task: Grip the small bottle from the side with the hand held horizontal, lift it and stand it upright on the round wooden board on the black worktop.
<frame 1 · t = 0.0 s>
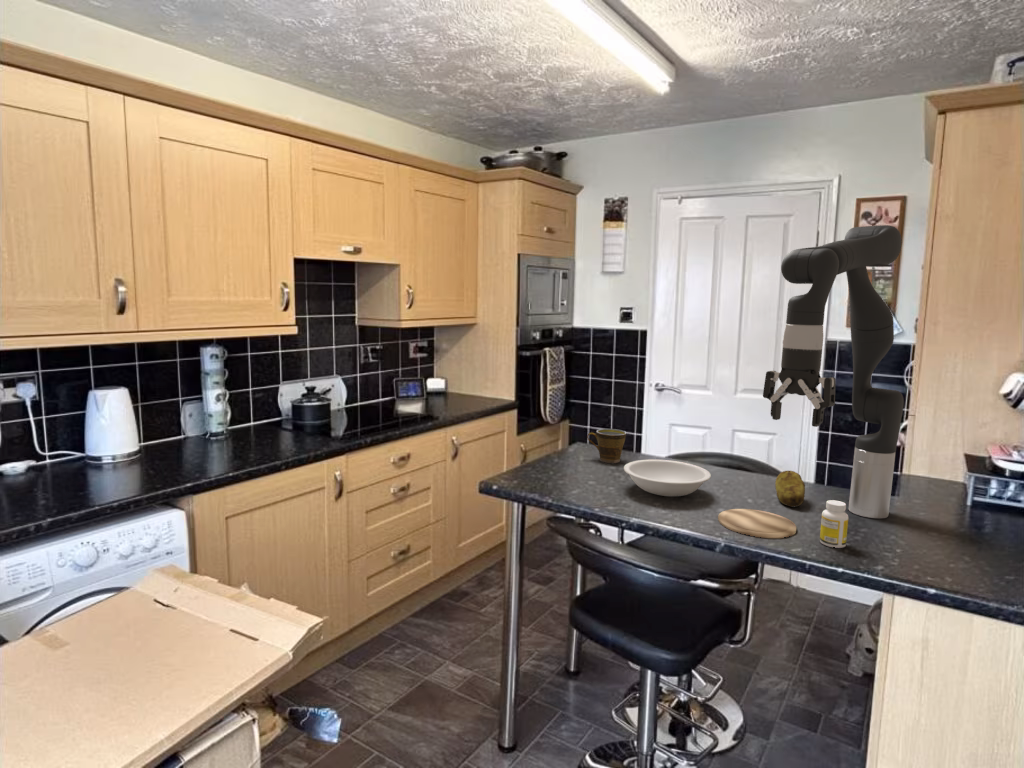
hand: (795, 422, 131), 29 cm above the breakfast bar, tool pointing down, fingers open, 8 cm apart
potato: (788, 502, 171), on the breakfast bar
ceramic cup: (605, 460, 210), on the breakfast bar
soup bowl: (665, 493, 176), on the breakfast bar
supplement bottle: (832, 544, 141), on the breakfast bar
round wooden board: (756, 524, 153), on the breakfast bar
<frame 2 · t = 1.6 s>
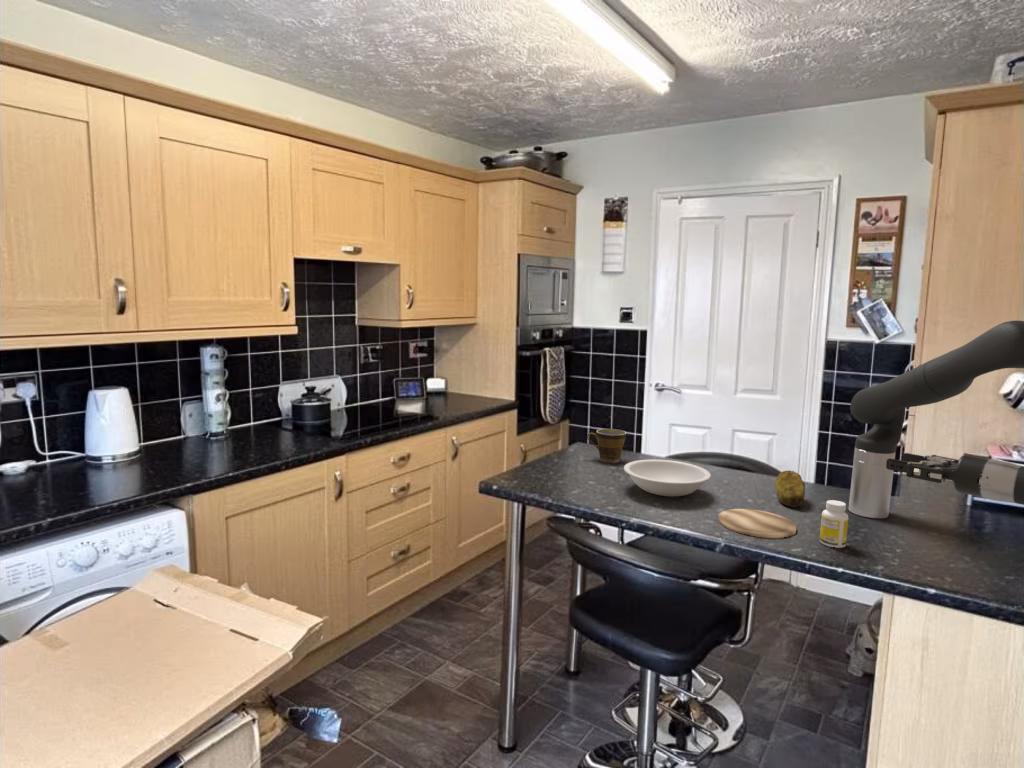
hand: (895, 460, 130), 22 cm above the breakfast bar, tool horizontal, fingers open, 8 cm apart
nothing on the breakfast bar moved.
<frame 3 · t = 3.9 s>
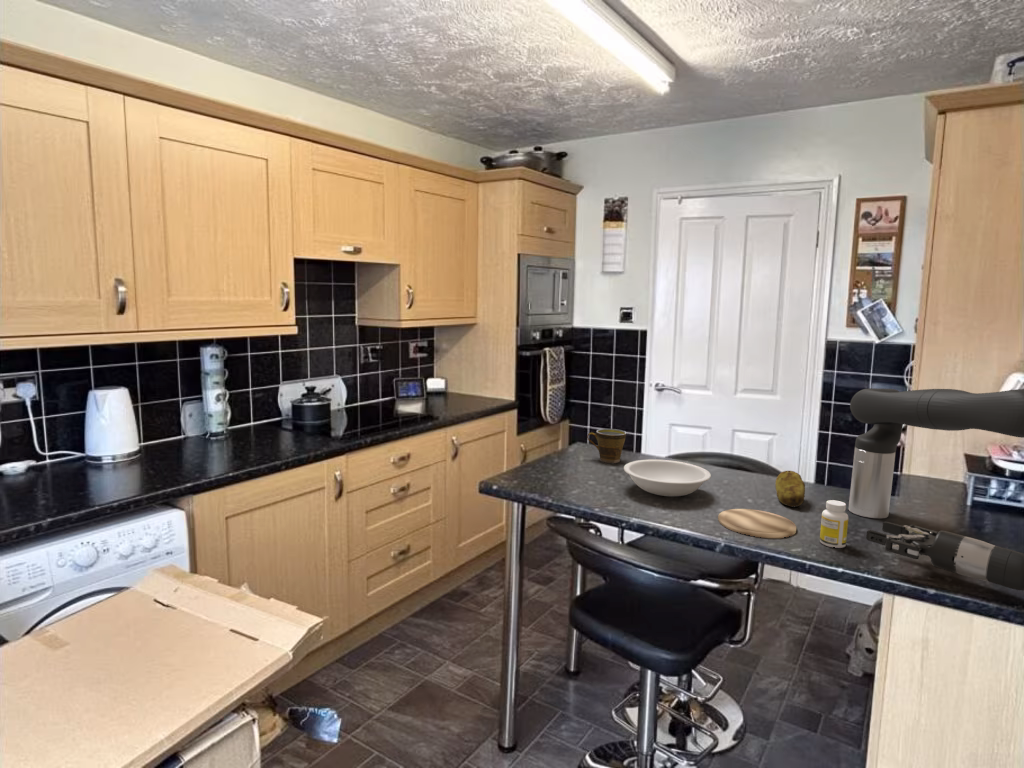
hand: (875, 530, 134), 6 cm above the breakfast bar, tool horizontal, fingers open, 8 cm apart
nothing on the breakfast bar moved.
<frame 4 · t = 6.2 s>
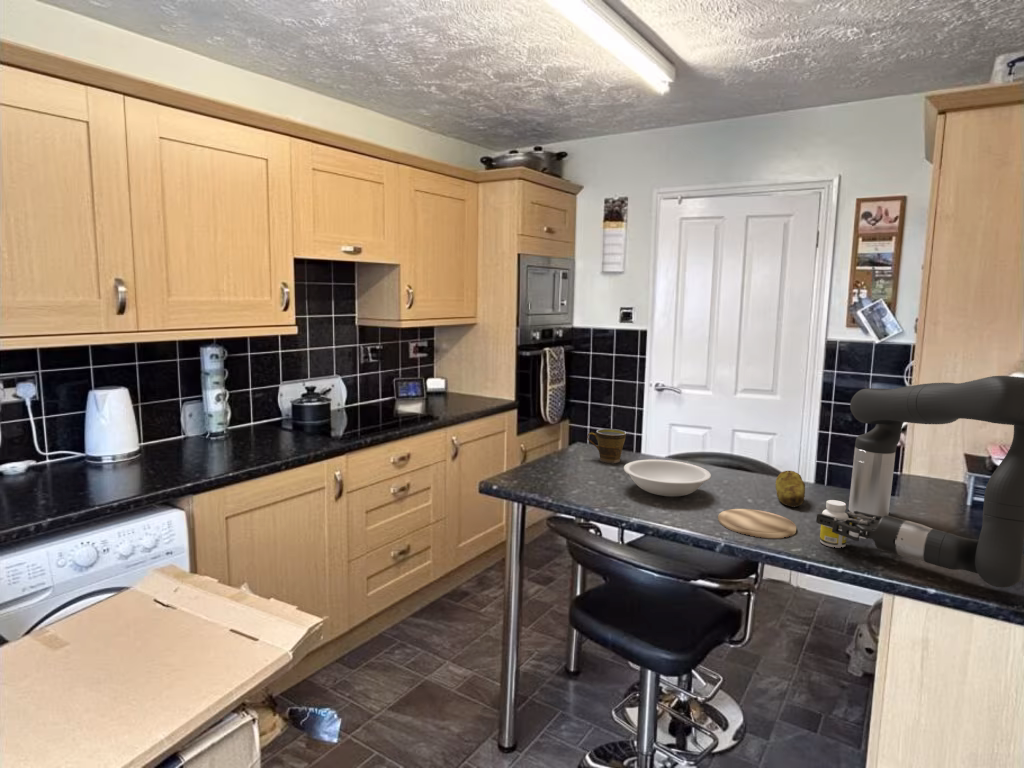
hand: (823, 515, 142), 6 cm above the breakfast bar, tool horizontal, fingers closed on supplement bottle, 5 cm apart
supplement bottle: (832, 544, 141), on the breakfast bar, touching gripper
everything else where it was.
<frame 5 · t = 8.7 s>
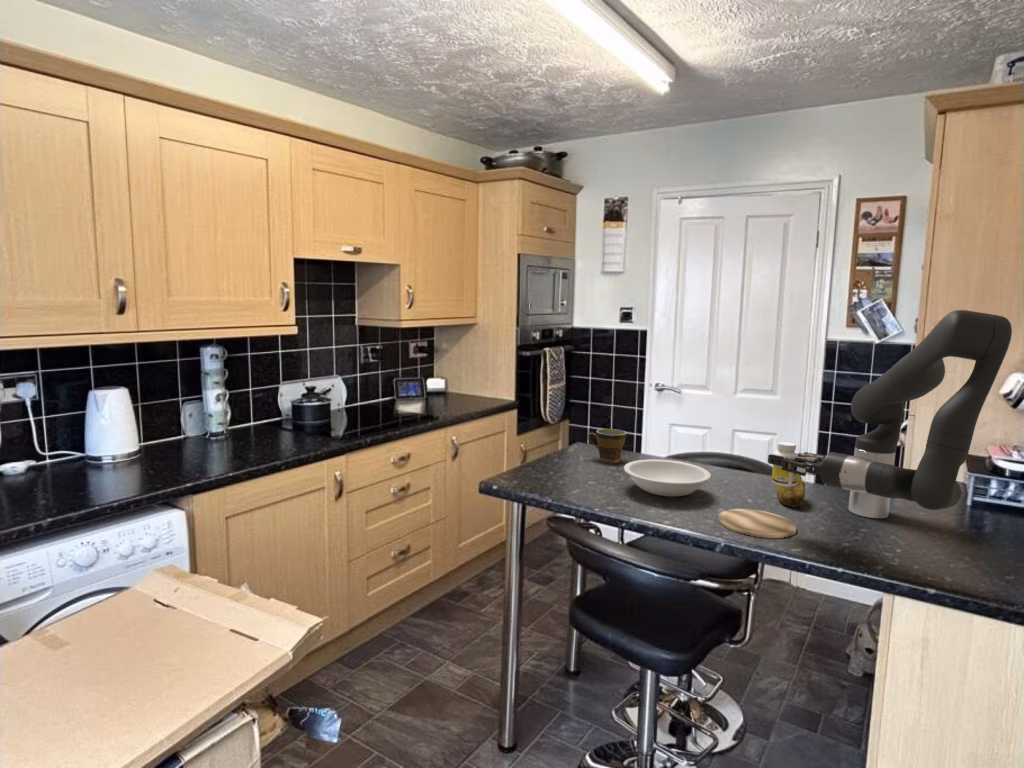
hand: (775, 456, 148), 18 cm above the breakfast bar, tool horizontal, fingers closed on supplement bottle, 5 cm apart
supplement bottle: (783, 484, 147), point 11 cm above the breakfast bar, touching gripper
everything else where it was.
when the fingers open (8 cm above the breakfast bar, at t = 11.5 s): supplement bottle stays where it is, resting on round wooden board.
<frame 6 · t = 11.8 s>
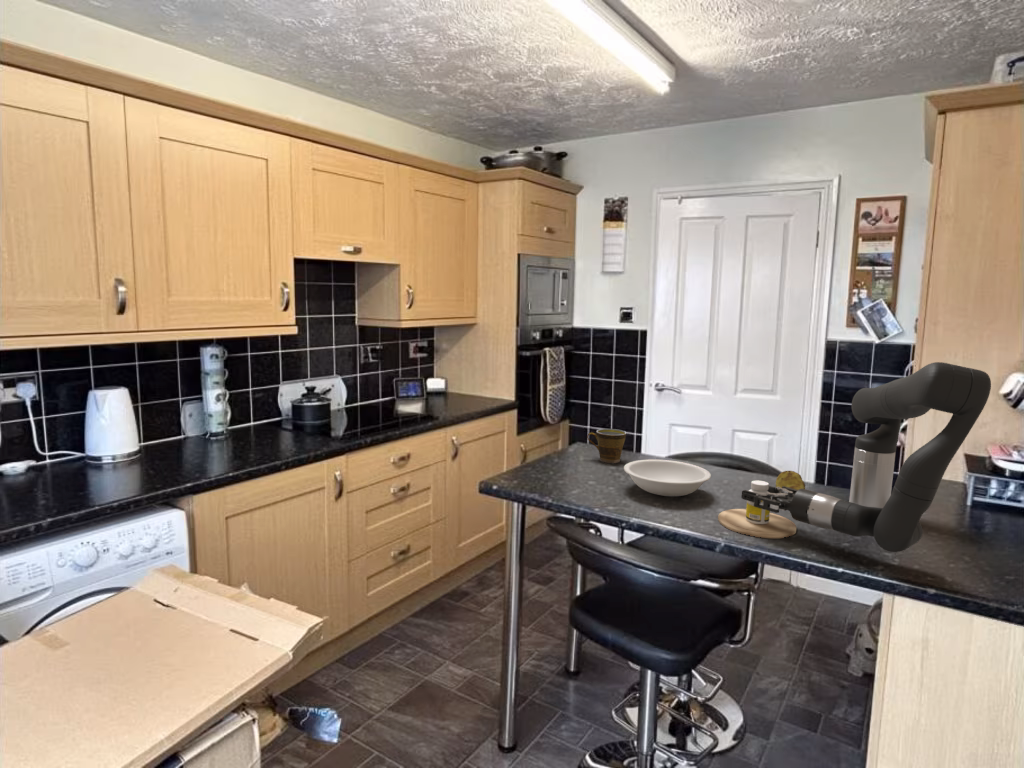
hand: (751, 491, 153), 8 cm above the breakfast bar, tool horizontal, fingers open, 8 cm apart
supplement bottle: (756, 521, 152), point 1 cm above the breakfast bar, touching round wooden board
everything else where it was.
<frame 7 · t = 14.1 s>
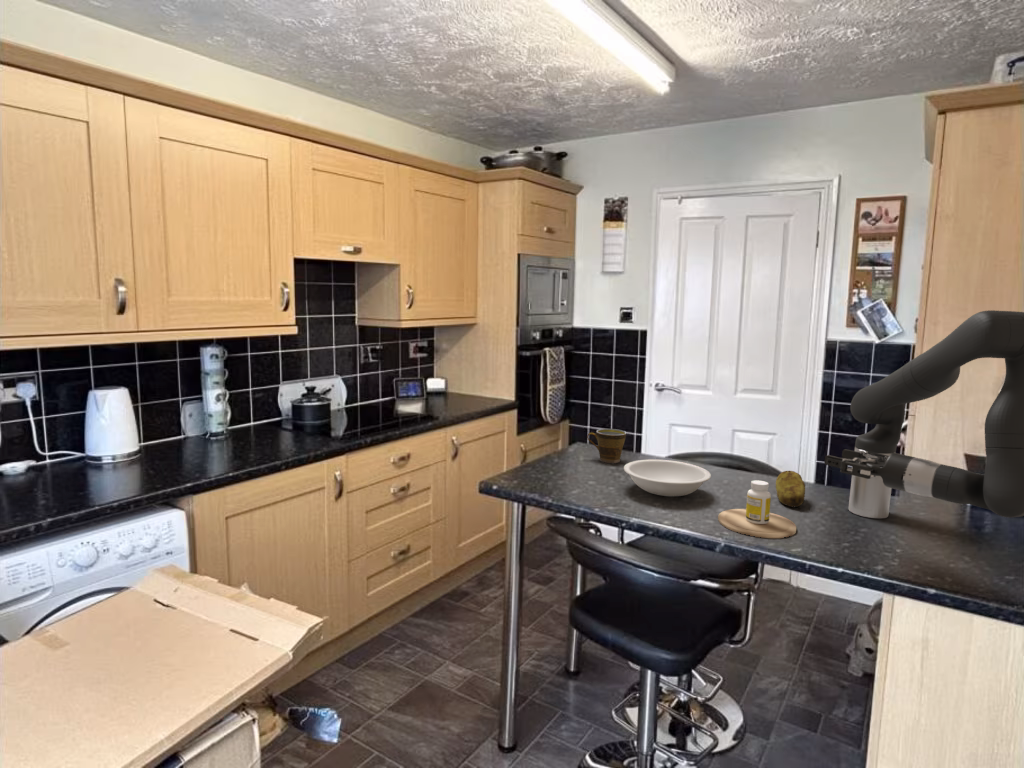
hand: (834, 456, 142), 20 cm above the breakfast bar, tool horizontal, fingers open, 8 cm apart
nothing on the breakfast bar moved.
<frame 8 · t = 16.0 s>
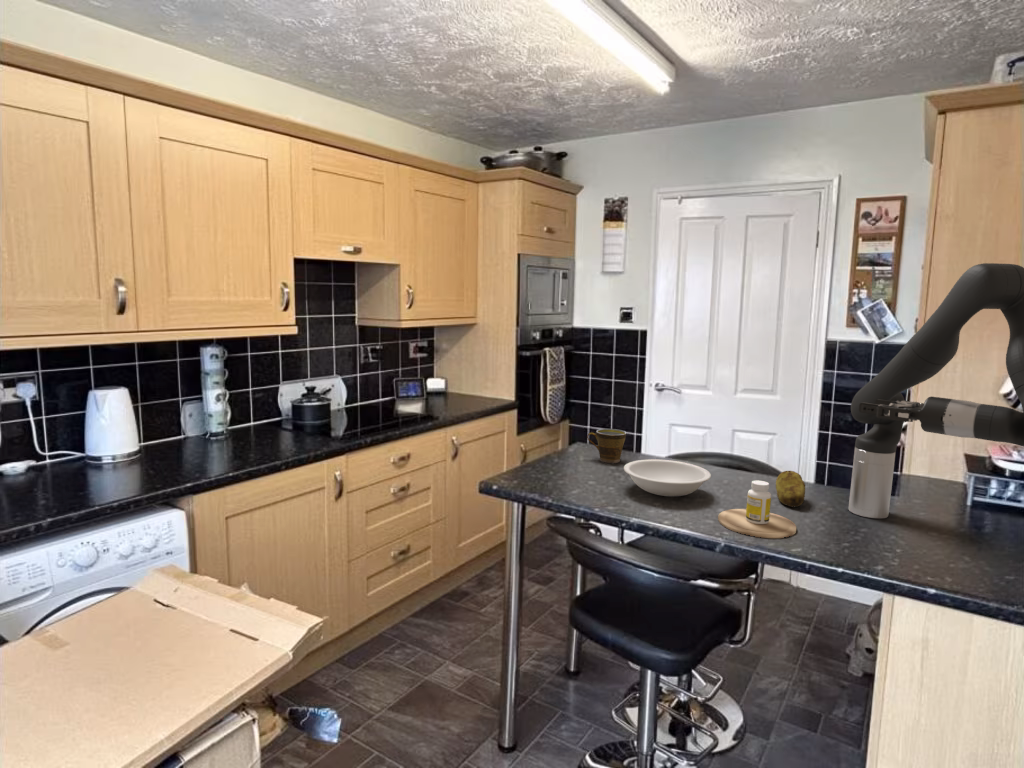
hand: (867, 405, 139), 32 cm above the breakfast bar, tool horizontal, fingers open, 8 cm apart
nothing on the breakfast bar moved.
at the end: supplement bottle inside the target area on the round wooden board (0.1 cm from its centre), point 0.7 cm above the round wooden board's base; supplement bottle tilted 1°; the gripper is holding nothing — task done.
